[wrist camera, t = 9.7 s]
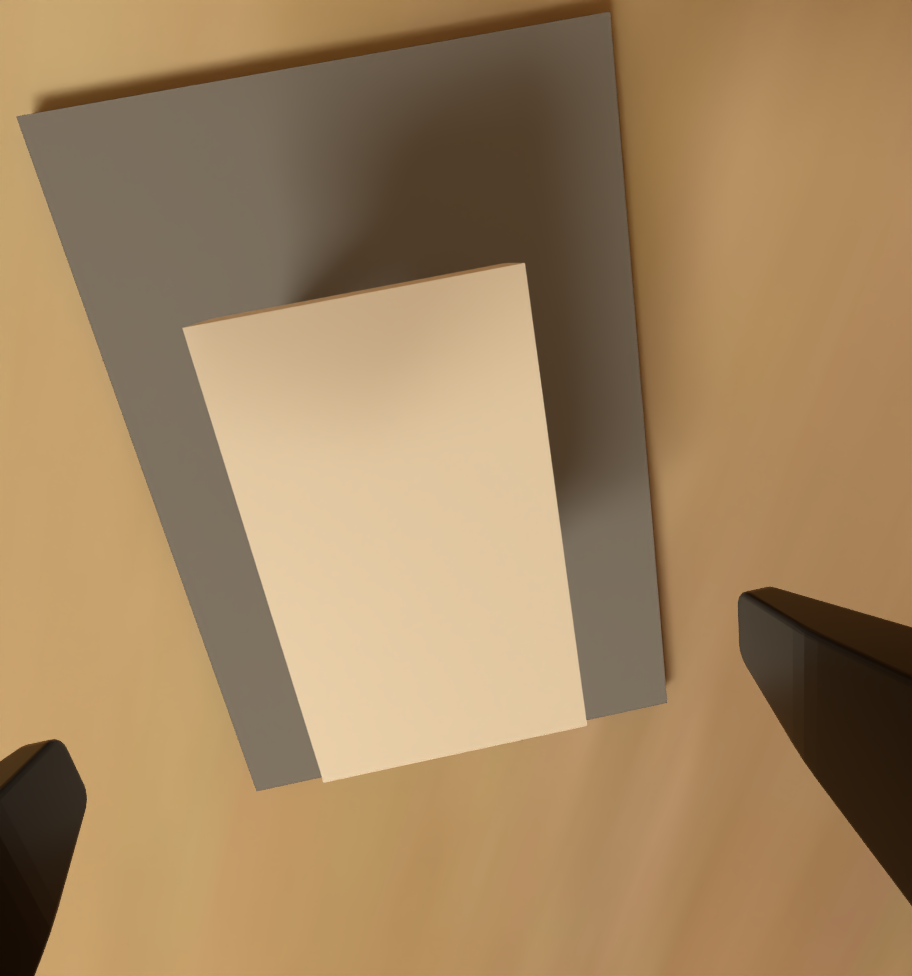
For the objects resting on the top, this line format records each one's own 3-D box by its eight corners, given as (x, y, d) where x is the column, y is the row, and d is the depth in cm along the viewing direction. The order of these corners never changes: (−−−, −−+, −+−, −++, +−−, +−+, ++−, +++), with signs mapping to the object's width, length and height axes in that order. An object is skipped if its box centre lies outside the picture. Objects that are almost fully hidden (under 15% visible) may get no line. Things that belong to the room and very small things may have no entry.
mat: (601, 20, 16) (610, 12, 16) (660, 691, 23) (667, 702, 22) (29, 121, 16) (16, 116, 15) (259, 778, 22) (256, 791, 22)
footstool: (532, 598, 20) (587, 725, 15) (341, 637, 20) (323, 782, 15) (479, 262, 17) (524, 262, 11) (250, 306, 17) (182, 328, 11)
